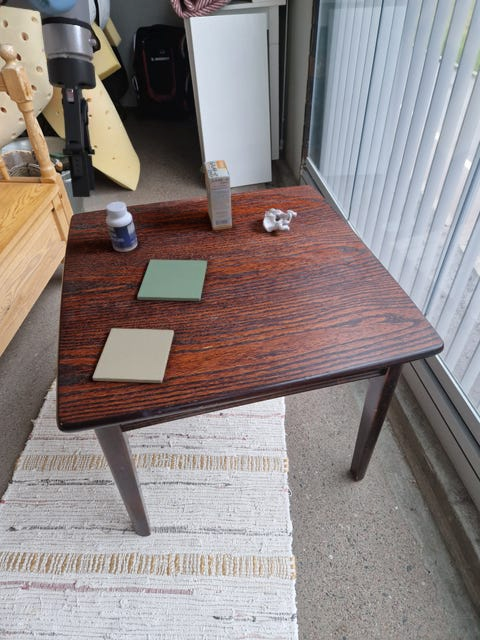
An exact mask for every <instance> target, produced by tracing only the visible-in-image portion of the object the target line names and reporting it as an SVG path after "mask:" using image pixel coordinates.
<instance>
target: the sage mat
mask: <svg viewBox="0 0 480 640" xmlns="http://www.w3.org/2000/svg"><path fill="white" fill-rule="evenodd" d="M207 266H208V260H198V259H197V260H195V259H190V260H189V259H149V262H148V265H147V268H146V271H145V273H144V276H143V279H142V282H141V285H140V288H139V291H138V293H137V296H136V298H137V300H139V301H171V302H173V301H174V302H176V301H178V302H201V298H202V294H203V293H202V292H203V287H204V282H205V277H206V272H207Z"/></svg>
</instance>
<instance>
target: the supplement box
mask: <svg viewBox="0 0 480 640" xmlns="http://www.w3.org/2000/svg"><path fill="white" fill-rule="evenodd" d="M203 166H204V180H205V181H204V182H205V193H206V204H207V205H206V206H207V213H208V218H209V220H210V223H211V228H212V230H213V231H220V230H229V229H232V228H233V221H232V218H233V217H232V197H231V196H232V195H231V175H230V173H229V170H228V167H227V165H226V162H225V160H224V159H220V160H209V161H204V162H203Z"/></svg>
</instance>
